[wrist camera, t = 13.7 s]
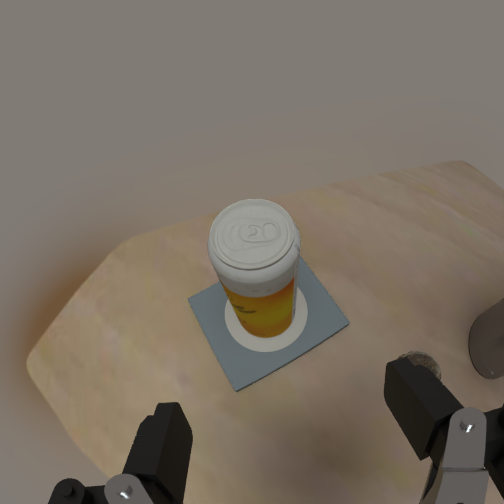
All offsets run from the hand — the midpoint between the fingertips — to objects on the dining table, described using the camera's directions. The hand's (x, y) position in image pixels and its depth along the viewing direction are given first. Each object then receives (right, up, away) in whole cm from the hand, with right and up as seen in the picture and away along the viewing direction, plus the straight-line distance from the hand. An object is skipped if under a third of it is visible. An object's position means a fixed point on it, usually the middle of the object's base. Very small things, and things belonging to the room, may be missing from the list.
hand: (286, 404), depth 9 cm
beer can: (0, -1, +21) cm, 21 cm away
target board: (0, -1, +22) cm, 22 cm away
